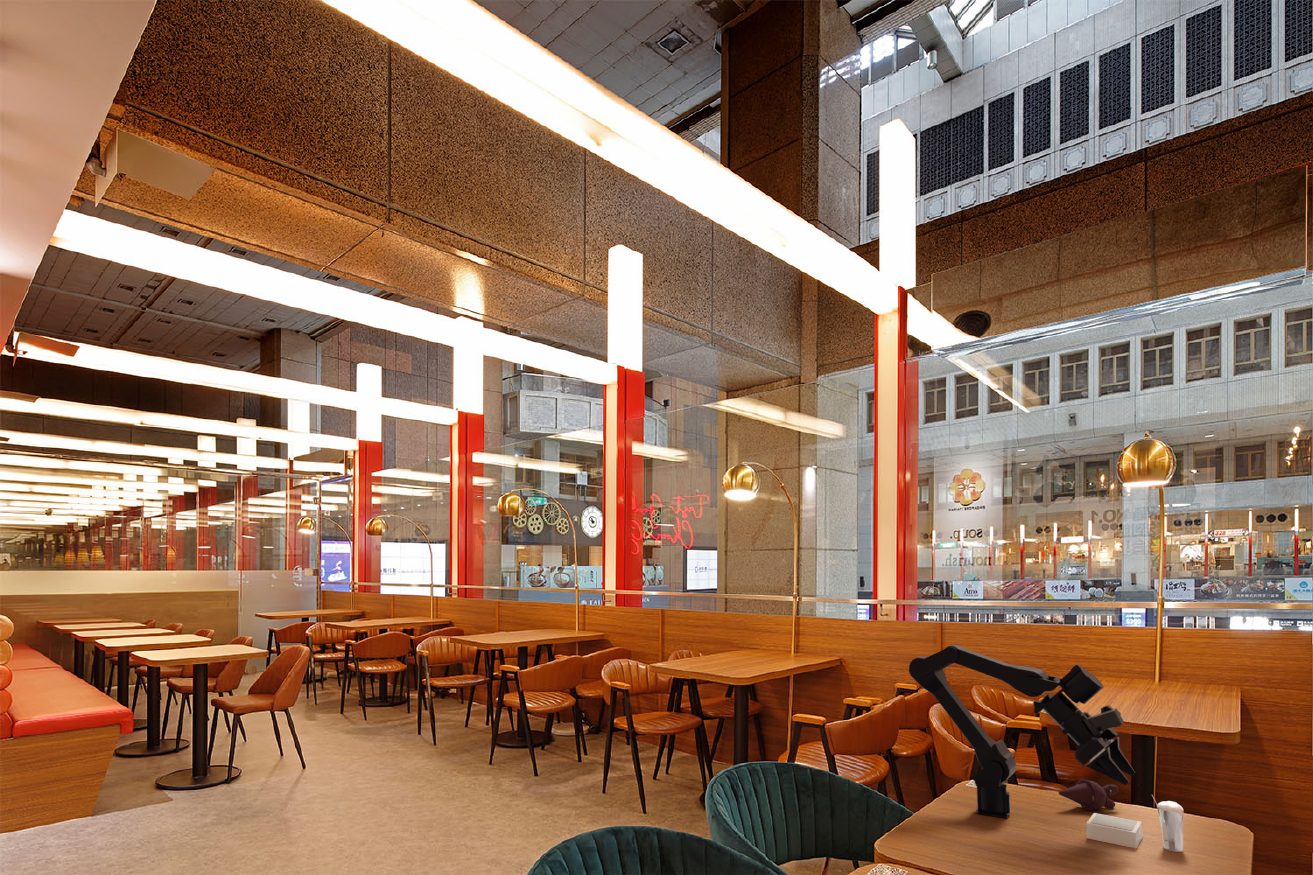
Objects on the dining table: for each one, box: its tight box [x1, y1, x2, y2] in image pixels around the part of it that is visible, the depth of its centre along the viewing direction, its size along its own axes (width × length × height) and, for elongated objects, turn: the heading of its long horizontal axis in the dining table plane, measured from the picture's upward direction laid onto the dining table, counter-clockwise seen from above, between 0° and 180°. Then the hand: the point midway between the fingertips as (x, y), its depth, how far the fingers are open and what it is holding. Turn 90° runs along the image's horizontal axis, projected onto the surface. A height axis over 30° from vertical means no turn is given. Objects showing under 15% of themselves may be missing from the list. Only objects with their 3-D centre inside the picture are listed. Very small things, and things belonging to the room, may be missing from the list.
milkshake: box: [1151, 794, 1184, 853], centre depth 161 cm, size 4×5×10 cm
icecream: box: [1058, 778, 1120, 812], centre depth 186 cm, size 7×7×15 cm
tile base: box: [1085, 812, 1143, 849], centre depth 167 cm, size 9×9×3 cm
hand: (1130, 778), depth 166 cm, fingers open, 9 cm apart
